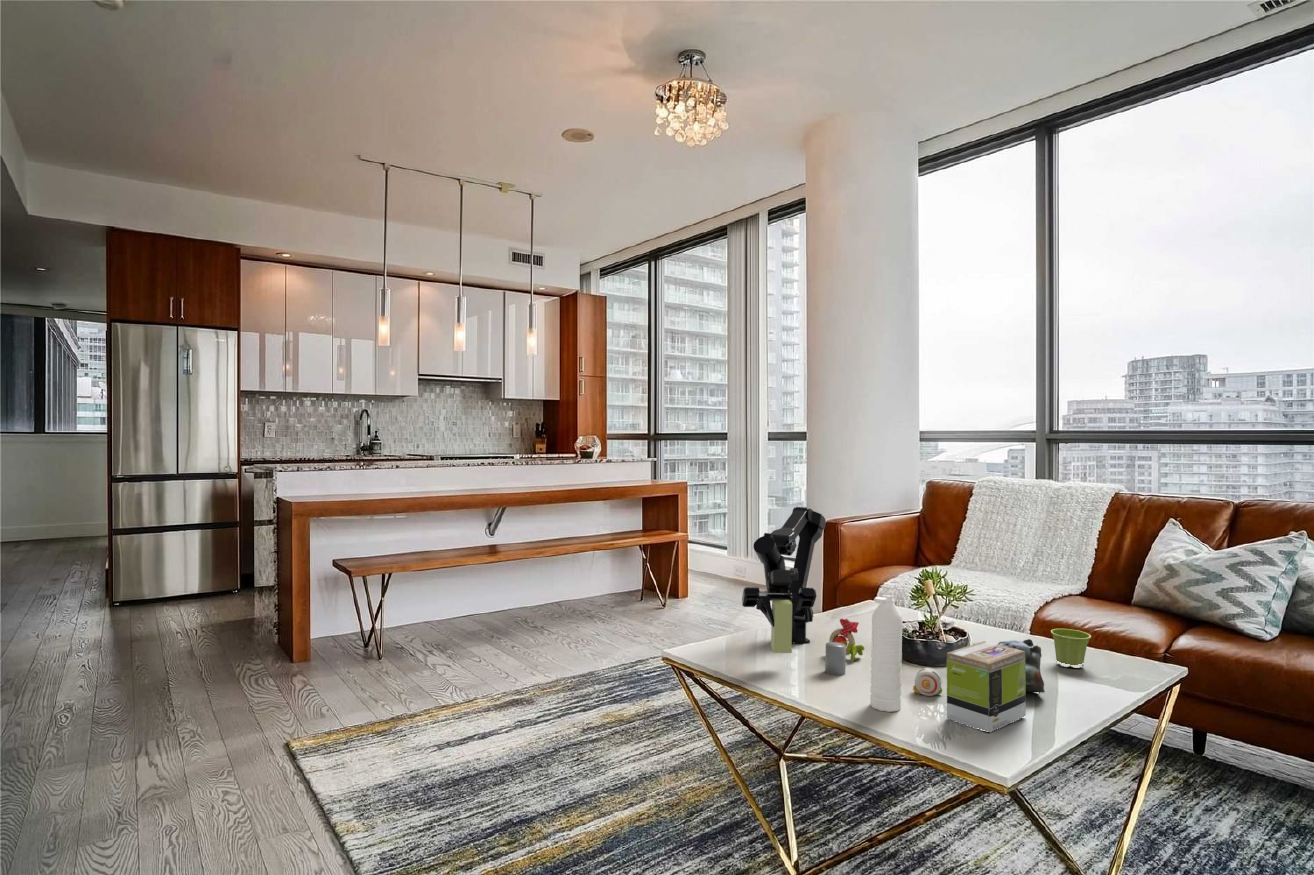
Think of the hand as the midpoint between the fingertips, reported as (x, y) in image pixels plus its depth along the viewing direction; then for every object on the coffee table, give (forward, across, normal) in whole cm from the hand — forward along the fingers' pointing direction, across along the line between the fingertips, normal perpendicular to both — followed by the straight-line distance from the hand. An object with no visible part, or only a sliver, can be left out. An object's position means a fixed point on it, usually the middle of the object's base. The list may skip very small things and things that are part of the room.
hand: (782, 626), depth 190 cm
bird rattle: (0, +20, +17) cm, 26 cm away
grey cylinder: (+8, +14, +8) cm, 18 cm away
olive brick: (+4, 0, +6) cm, 7 cm away
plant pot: (+3, +78, +13) cm, 80 cm away
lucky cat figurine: (+17, +52, 0) cm, 55 cm away
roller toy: (+19, +32, -2) cm, 37 cm away
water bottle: (+26, +18, -9) cm, 33 cm away
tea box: (+30, +38, -13) cm, 50 cm away
